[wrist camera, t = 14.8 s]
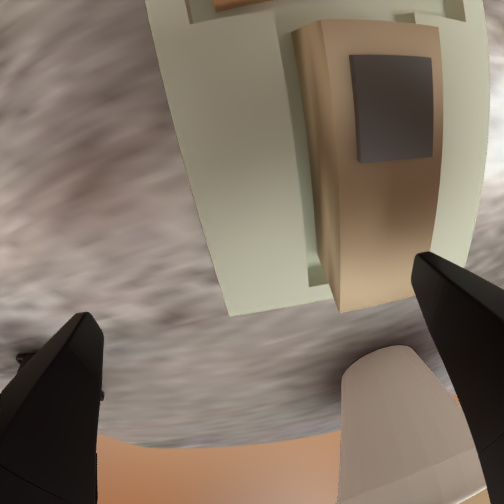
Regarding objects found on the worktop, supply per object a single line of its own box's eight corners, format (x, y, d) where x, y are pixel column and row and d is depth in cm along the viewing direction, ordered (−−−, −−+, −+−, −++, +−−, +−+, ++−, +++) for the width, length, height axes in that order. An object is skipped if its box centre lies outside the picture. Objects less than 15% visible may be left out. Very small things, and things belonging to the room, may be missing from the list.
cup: (445, 365, 25) (492, 481, 14) (336, 416, 28) (361, 535, 17) (435, 295, 19) (522, 466, 8) (282, 369, 22) (309, 549, 11)
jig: (444, 242, 16) (464, 266, 14) (229, 284, 17) (229, 316, 15) (428, -82, 6) (455, -94, 4) (142, -81, 6) (127, -102, 4)
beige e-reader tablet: (385, 240, 15) (423, 299, 11) (316, 253, 15) (341, 319, 11) (380, 29, 9) (444, 26, 6) (291, 31, 9) (323, 18, 6)
